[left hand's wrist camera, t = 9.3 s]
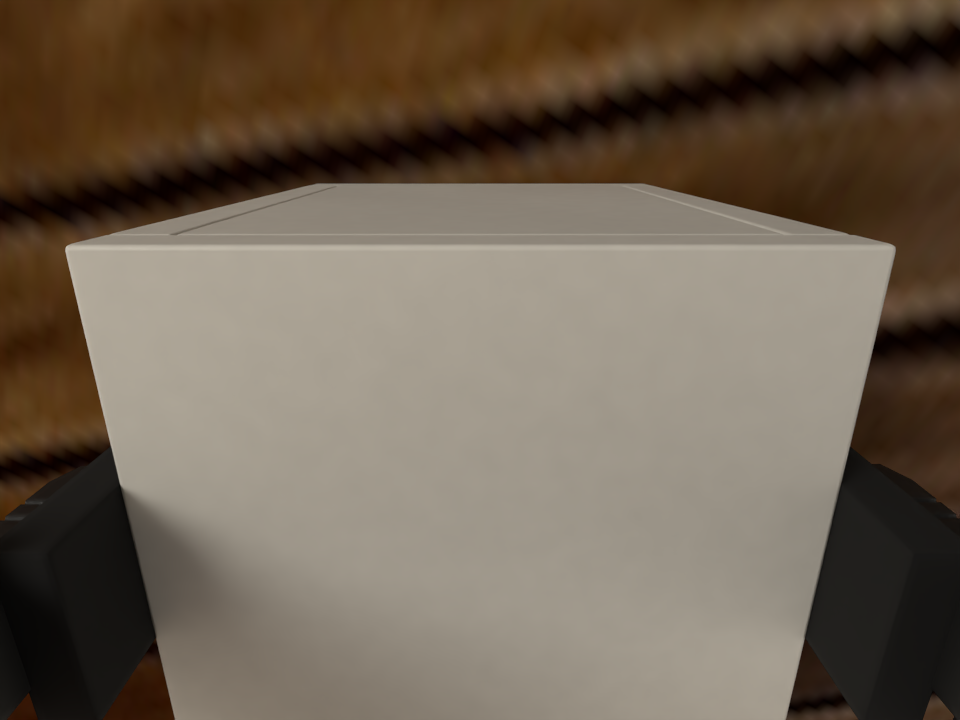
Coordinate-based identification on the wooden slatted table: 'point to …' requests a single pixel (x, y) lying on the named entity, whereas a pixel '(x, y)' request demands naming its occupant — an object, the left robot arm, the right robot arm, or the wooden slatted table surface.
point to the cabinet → (480, 446)
